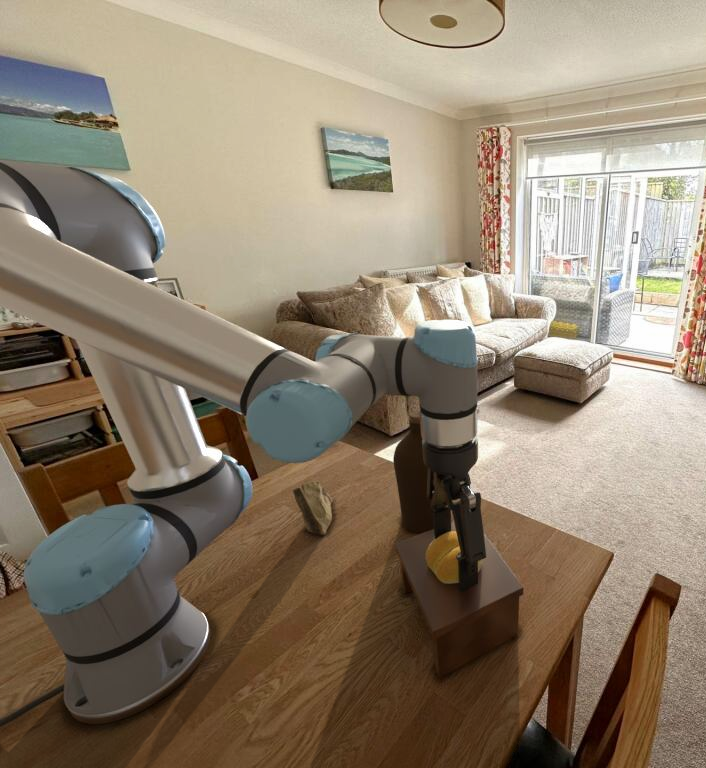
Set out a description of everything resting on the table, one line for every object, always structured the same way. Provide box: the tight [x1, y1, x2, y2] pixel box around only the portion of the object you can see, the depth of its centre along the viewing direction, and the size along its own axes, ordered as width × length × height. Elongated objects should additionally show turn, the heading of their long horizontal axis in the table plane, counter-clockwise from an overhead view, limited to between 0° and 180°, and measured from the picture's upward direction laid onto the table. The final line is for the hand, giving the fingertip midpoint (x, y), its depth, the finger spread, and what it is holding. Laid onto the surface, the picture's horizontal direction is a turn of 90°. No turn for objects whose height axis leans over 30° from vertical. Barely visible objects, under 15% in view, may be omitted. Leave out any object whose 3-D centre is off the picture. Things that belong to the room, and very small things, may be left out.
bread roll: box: [426, 531, 483, 584], centre depth 62 cm, size 8×9×4 cm
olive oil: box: [392, 410, 447, 533], centre depth 83 cm, size 11×11×25 cm
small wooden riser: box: [394, 521, 524, 679], centre depth 65 cm, size 14×18×10 cm
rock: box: [292, 480, 333, 536], centre depth 86 cm, size 11×9×10 cm
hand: (455, 562), depth 63 cm, fingers closed on bread roll, 9 cm apart
